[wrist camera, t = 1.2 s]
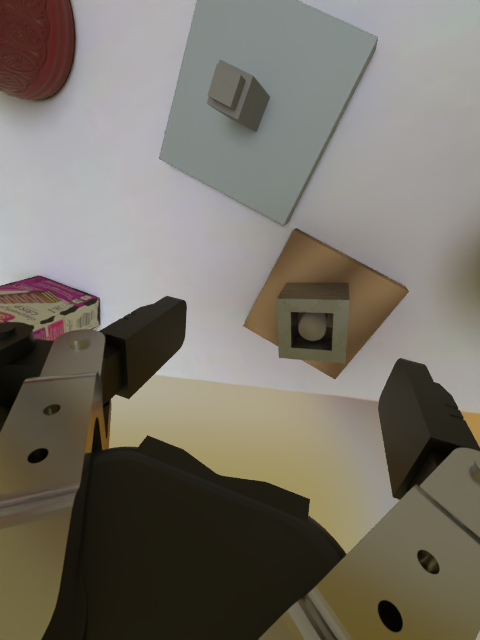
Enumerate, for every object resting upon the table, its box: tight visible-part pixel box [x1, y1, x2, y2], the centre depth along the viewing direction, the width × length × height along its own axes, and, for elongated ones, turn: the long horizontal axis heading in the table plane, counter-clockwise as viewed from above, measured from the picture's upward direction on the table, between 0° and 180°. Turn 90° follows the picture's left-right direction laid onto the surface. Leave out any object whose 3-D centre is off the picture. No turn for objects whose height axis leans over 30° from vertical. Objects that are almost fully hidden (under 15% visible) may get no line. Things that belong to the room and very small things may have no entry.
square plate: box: [159, 0, 378, 226], centre depth 22 cm, size 14×14×8 cm
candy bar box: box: [0, 276, 100, 341], centre depth 35 cm, size 11×5×16 cm, turn 77°
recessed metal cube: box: [277, 283, 349, 364], centre depth 27 cm, size 6×6×5 cm
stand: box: [243, 228, 409, 379], centre depth 28 cm, size 12×12×6 cm
